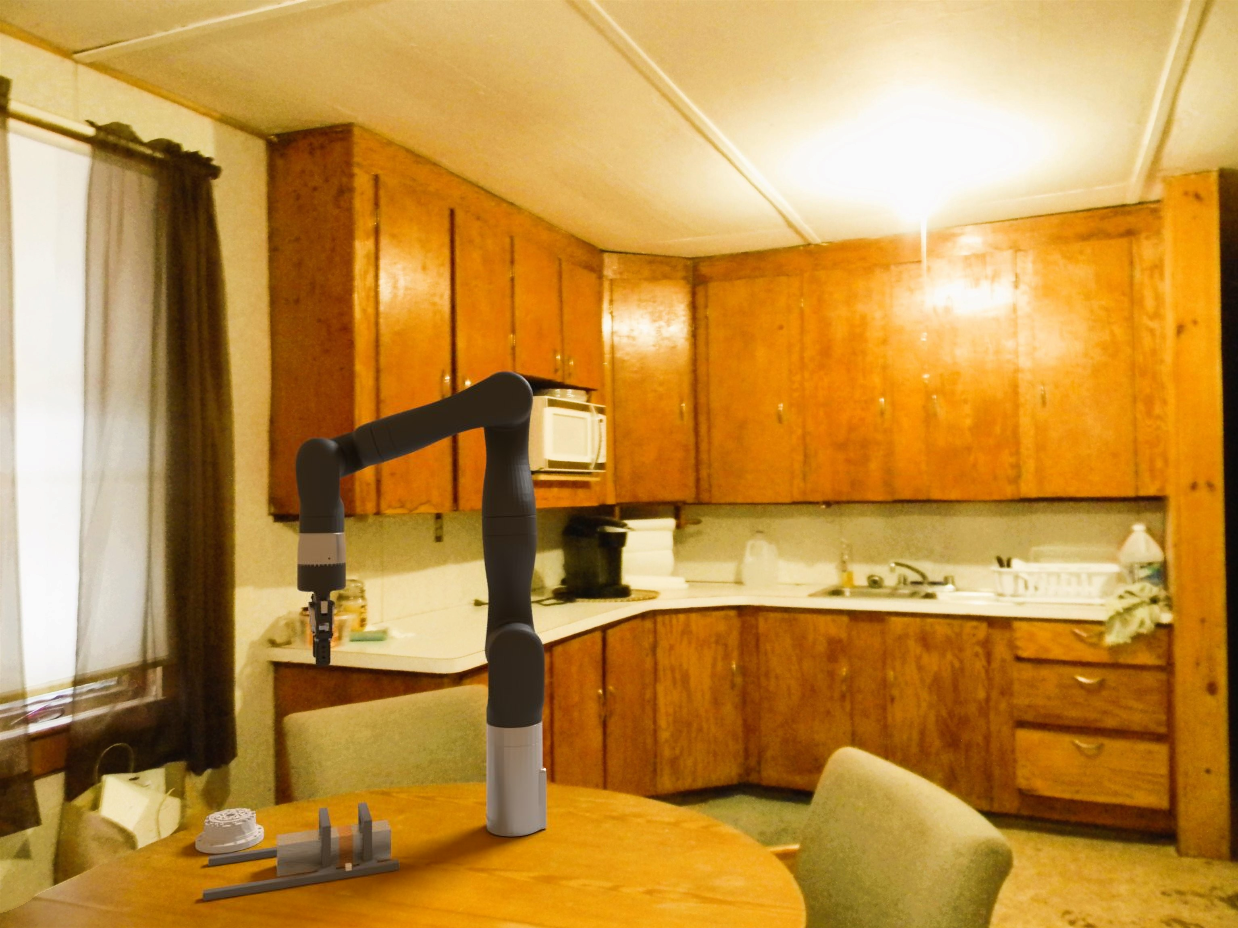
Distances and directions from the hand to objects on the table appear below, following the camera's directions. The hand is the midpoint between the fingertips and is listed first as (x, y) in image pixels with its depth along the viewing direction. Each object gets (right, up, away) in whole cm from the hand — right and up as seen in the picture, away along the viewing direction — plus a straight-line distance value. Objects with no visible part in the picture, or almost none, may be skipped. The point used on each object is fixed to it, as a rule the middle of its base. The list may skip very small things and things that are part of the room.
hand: (321, 661), depth 142 cm
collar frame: (+2, -28, -13) cm, 30 cm away
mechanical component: (-14, -29, -3) cm, 32 cm away
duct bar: (+6, -28, -11) cm, 30 cm away
